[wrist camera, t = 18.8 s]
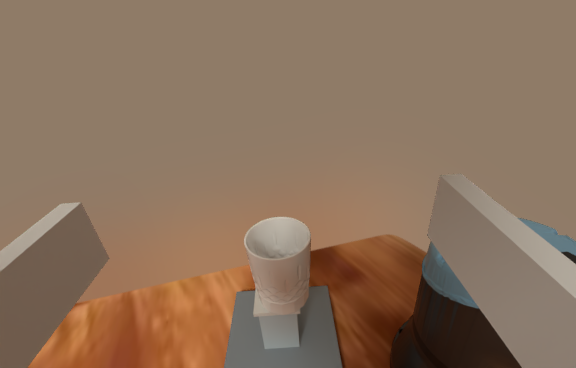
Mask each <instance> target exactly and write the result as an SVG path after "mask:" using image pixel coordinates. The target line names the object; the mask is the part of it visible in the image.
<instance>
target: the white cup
mask: <svg viewBox="0 0 576 368" xmlns="http://www.w3.org/2000/svg"><path fill="white" fill-rule="evenodd" d="M310 242H311V234H310V231H309V229H308V227H307V226H306V225H305V224H304V223H303V222H301V221H299V220H297V219H293V218H289V217H273V218H268V219H265V220H262V221H260V222H258V223H257V224H255V225H254V226H252V227H251V228H250V229H249V230H248V232H247V233H246V236H245V239H244V243H245V248H246V252H247V256H248V260H249V264H250V268H251V272H252V276H253V279H254V283H255V286H256V289H257V291H258V296H259V299H260V301H261V303H262V306H263V307H264V308H265V309H267V310H268V311H269V312H271V313H273V314H279V315H286V314H291V313H295V312H296V311H297V310H299V309H300V308H302V307H303V306H304V305H305V303H306V301H307V299H308V297H309V279H310V247H311V243H310Z"/></svg>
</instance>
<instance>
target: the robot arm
mask: <svg viewBox="0 0 576 368" xmlns="http://www.w3.org/2000/svg"><path fill="white" fill-rule="evenodd" d="M427 236H428V237H429V239H430V240H431V243H430V246H429V249H428V252H427V255H426V256H425V258H424V260H423V263H422V276H421V281H420V286H419V291H418V295H417V300H416V305H415V310H414V314H413V315H412V316H411V317H410V318H409V320H408V321H407V322H405V323H404V324H403V325H402V326H401V327H400V329H399V330H398V332H397V333H396V335H395V337H394V340H393V344H392V349H391V355H390V367H391V368H576V241H574V240H573V239H572V238H570V237H568V236H563V235H557V231H556V230H555V229H553V228H550V227H548V226H546V225H543V224H540V223H536V222H533V221H530V220H525V219H521V218H517V217H515V216H514V215H513V214H512V213H510V212H509V211H508V210H506V209H505V208H504V207H503V206H501V205H500V204H499V203H498V202H496V201H495V200H494V199H493V198H491V197H490V196H489V195H487V194H486V193H485V192H484V191H482V190H481V189H480V188H478V187H477V186H476V185H475V184H473V183H472V182H471V181H470V180H468V179H467V178H466V177H465V176H463V175H462V174H452V175H440V177H439V182H438V187H437V192H436V196H435V201H434V206H433V210H432V215H431V220H430V225H429V229H428V234H427ZM108 259H109V256H108V255H107V253H106V250H105V249H104V247H103V245H102V243H101V241H100V239H99V237H98V235H97V233H96V231H95V229H94V227H93V225H92V223H91V221H90V219H89V217H88V215H87V213H86V211H85V209H84V207H83V205H82V203H81V202H80V203H67V204H60V205H59V206H57V207H56V208H55V209H54V210H52V211H51V212H50V213H48V214H47V215H46V216H45V217H43V218H42V219H41V220H40V221H38V222H37V223H36V224H34V225H33V226H32V227H31V228H29V229H28V230H27V231H25V232H24V233H23V234H22V235H20V236H19V237H18V238H17V239H15V240H14V241H13V242H12V243H10V244H9V245H8V246H7V247H5V248H4V249H3V250H1V251H0V368H27V367H28V366H29V365H30V363H31V362H32V361H33V359H34V358H35V357H36V355H37V354H38V353H39V351H40V350H41V349H42V347H43V346H44V345H45V343H46V342H47V341H48V339H49V338H50V337H51V335H52V334H53V333H54V331H55V330H56V329H57V327H58V326H59V325H60V323H61V322H62V321H63V319H64V318H65V317H66V315H67V314H68V313H69V312H70V310H71V309H72V308H73V306H74V305H75V304H76V302H77V301H78V300H79V298H80V297H81V295H82V294H83V293H84V291H85V290H86V289H87V288H88V286H89V285H90V283H91V282H92V281H93V280H94V278H95V277H96V276H97V274H98V273H99V271H100V270H101V269H102V268H103V266H104V265H105V264H106V262H107V261H108Z"/></svg>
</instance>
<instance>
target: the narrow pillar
mask: <svg viewBox="0 0 576 368" xmlns="http://www.w3.org/2000/svg"><path fill="white" fill-rule="evenodd" d="M224 368H342V363H341V358H340V352H339V347H338V341H337V336H336V330H335V325H334V320H333V314H332V309H331V303H330V298H329V292H328V287H327V286H314V287H309V297H308V299H307V301H306V303H305V305H304V306H303V307H302V308H300V309H299V310H297V311H296V312H295V313H291V314H286V315H279V314H273V313H271V312H269V311H268V310H267V309H265V308H264V307H263V306H262V303H261V301H260V299H259V296H258V291H257V289H256V291H242V292H237V294H236V300H235V306H234V312H233V318H232V324H231V330H230V336H229V342H228V347H227V353H226V359H225V365H224Z"/></svg>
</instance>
